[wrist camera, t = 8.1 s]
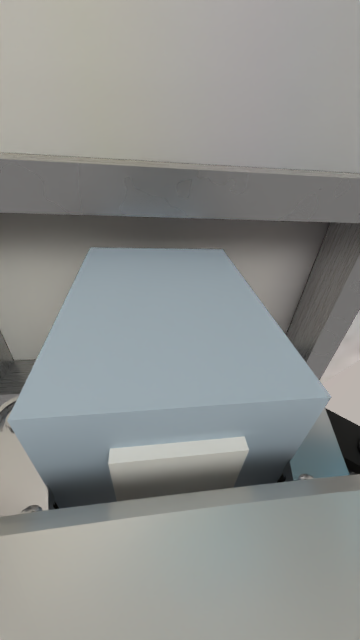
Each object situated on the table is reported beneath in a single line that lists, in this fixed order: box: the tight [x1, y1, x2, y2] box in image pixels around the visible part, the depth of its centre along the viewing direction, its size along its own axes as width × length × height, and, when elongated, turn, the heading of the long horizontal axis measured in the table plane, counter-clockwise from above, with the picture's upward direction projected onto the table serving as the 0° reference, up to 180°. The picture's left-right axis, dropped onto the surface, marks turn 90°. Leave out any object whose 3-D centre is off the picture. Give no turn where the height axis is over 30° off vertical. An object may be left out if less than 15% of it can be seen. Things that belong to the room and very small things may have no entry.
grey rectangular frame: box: [0, 153, 360, 406], centre depth 12 cm, size 20×12×2 cm, turn 87°
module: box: [7, 248, 331, 509], centre depth 9 cm, size 5×7×7 cm
